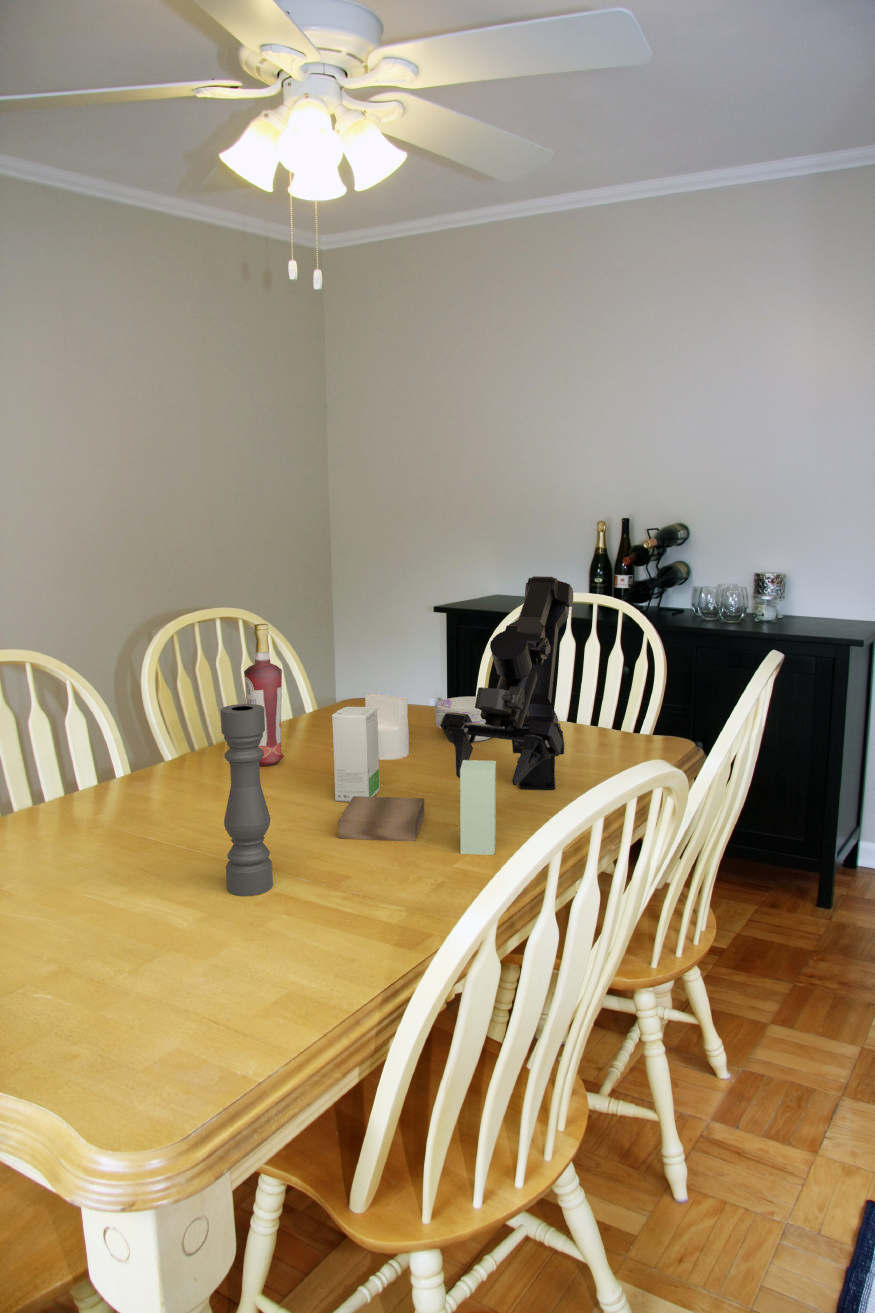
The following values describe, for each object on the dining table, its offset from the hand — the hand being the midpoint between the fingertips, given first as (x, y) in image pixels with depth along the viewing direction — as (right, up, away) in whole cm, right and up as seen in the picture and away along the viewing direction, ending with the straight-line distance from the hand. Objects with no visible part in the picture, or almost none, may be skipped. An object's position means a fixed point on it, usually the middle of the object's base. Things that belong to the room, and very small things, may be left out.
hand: (485, 780), depth 145 cm
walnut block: (-16, -9, +9) cm, 20 cm away
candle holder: (-33, -13, -14) cm, 38 cm away
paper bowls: (0, +1, +66) cm, 66 cm away
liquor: (-42, -3, +46) cm, 62 cm away
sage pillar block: (-1, -10, -1) cm, 10 cm away
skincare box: (-22, -6, +25) cm, 34 cm away
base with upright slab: (-18, -1, +53) cm, 55 cm away
